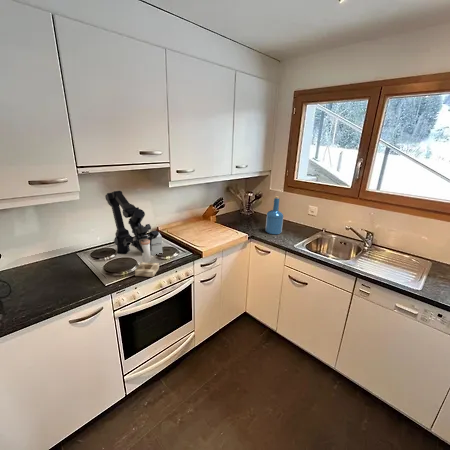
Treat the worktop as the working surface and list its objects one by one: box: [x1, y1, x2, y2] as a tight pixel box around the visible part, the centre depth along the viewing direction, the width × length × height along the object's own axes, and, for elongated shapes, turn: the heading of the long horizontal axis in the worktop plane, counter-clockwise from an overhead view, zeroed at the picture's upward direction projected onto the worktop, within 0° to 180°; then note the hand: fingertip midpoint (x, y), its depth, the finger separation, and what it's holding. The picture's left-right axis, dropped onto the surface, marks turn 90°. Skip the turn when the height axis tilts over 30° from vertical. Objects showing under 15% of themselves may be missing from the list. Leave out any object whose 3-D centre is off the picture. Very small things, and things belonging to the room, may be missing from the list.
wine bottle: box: [264, 195, 284, 235], centre depth 207 cm, size 14×13×30 cm
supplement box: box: [150, 232, 163, 256], centre depth 167 cm, size 7×7×13 cm
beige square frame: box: [134, 261, 160, 278], centre depth 144 cm, size 10×10×4 cm
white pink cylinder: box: [140, 238, 152, 263], centre depth 140 cm, size 5×5×12 cm
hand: (147, 251), depth 139 cm, fingers closed on white pink cylinder, 4 cm apart
